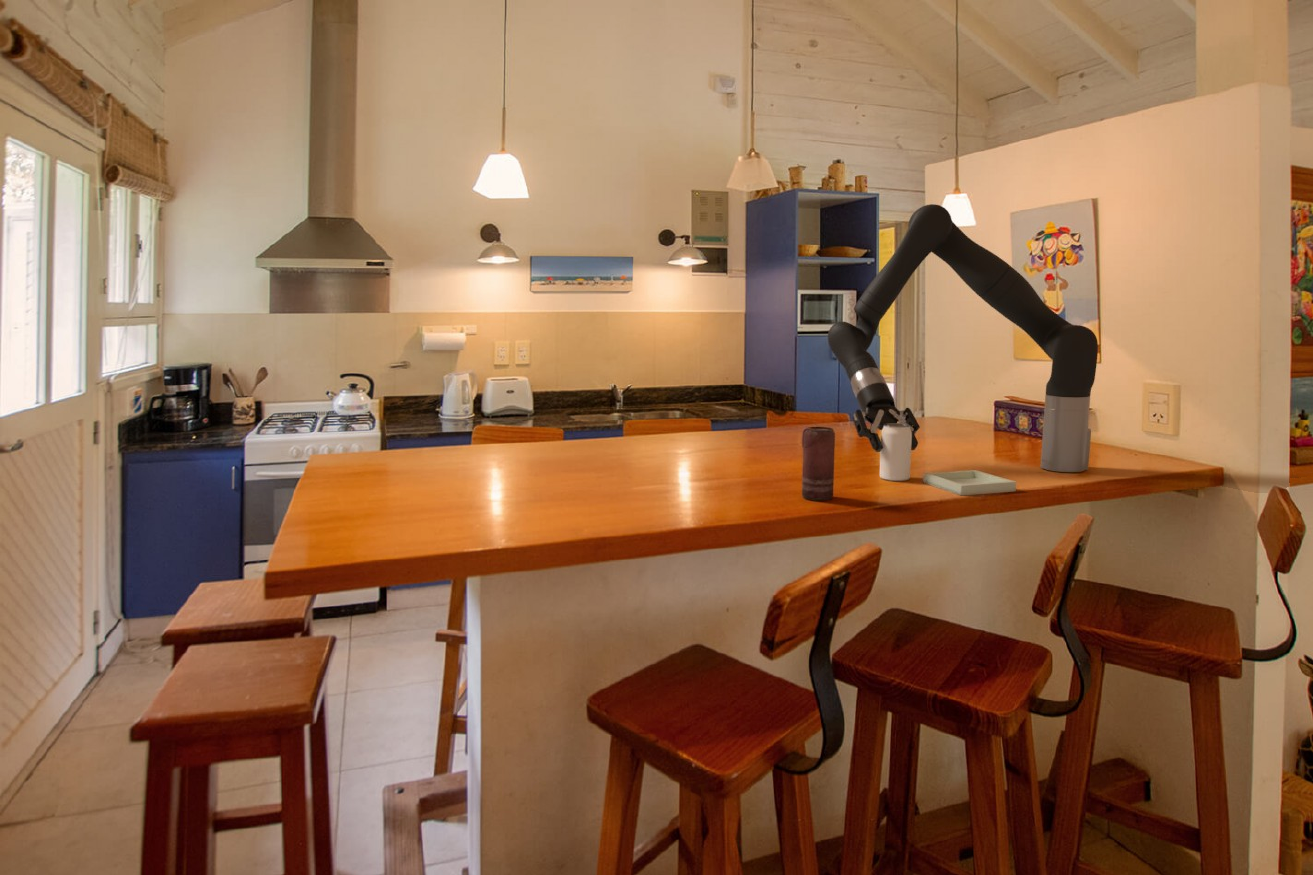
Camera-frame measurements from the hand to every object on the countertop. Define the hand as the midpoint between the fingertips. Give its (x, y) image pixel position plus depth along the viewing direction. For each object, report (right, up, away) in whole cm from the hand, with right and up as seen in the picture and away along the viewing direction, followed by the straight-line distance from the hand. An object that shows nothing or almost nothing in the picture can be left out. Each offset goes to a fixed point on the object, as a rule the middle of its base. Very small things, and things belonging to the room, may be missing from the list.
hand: (897, 449), depth 178 cm
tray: (+13, -8, -7) cm, 17 cm away
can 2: (0, -7, +2) cm, 7 cm away
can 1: (-21, -10, -17) cm, 28 cm away
